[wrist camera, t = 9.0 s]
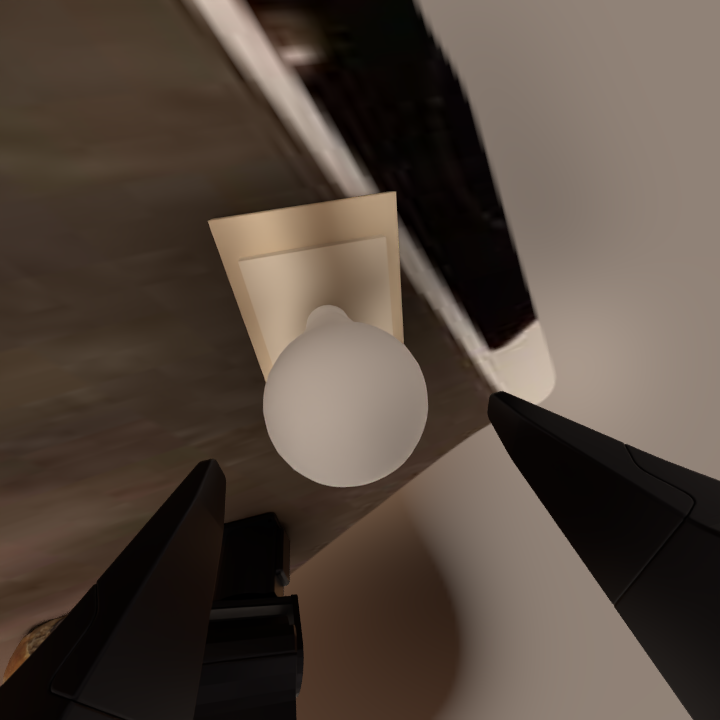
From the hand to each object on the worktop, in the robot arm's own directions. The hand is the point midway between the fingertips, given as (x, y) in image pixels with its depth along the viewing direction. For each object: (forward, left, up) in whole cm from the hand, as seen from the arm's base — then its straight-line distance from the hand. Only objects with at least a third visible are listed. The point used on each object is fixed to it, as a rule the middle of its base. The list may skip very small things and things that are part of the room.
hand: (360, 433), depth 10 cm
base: (0, 0, -12) cm, 12 cm away
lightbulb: (0, 0, -10) cm, 10 cm away
